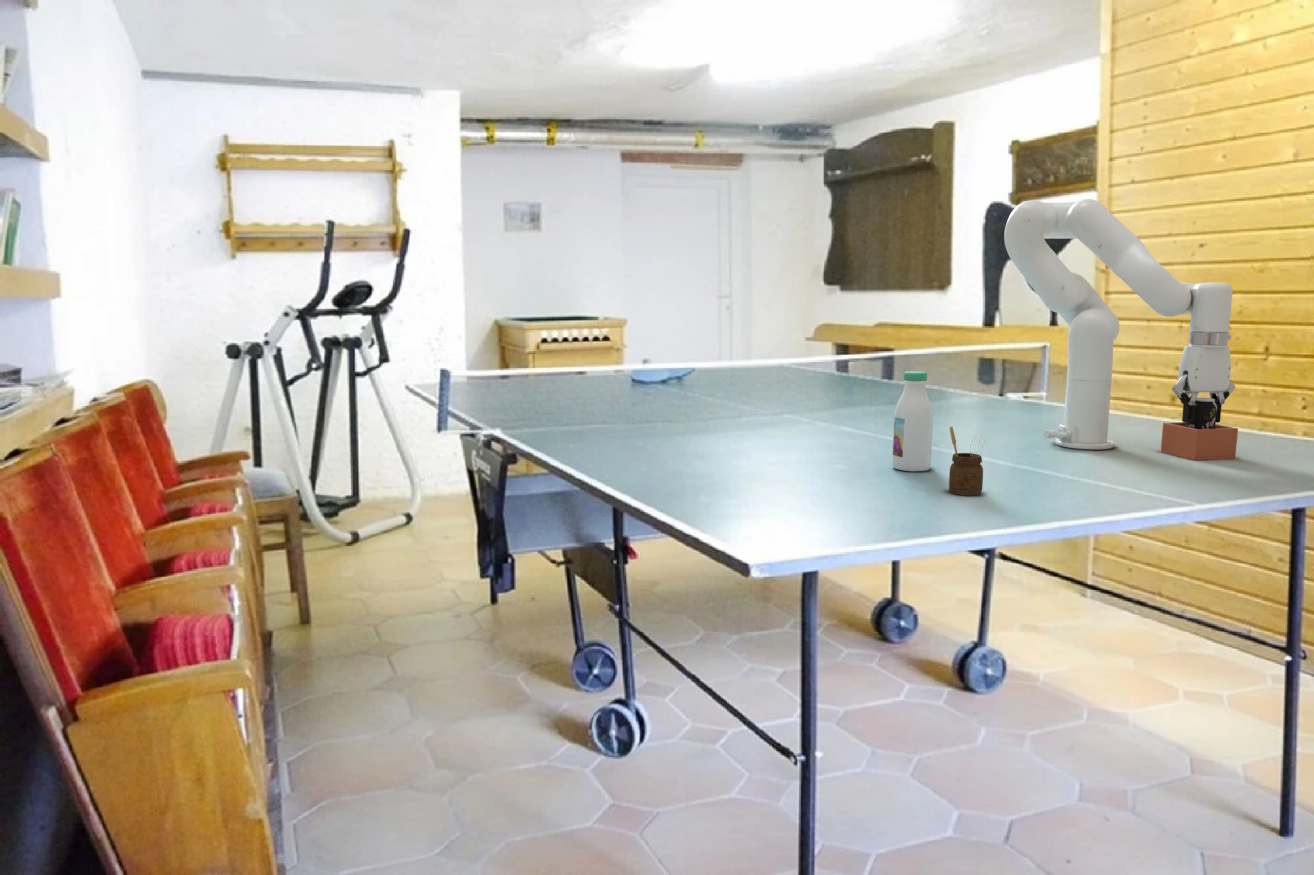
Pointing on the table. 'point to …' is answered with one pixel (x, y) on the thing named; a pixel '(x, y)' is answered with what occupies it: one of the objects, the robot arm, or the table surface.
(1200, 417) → the beverage can
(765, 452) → the table surface
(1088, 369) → the robot arm
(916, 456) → the milk bottle
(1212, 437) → the bin
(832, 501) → the table surface
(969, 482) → the utensil holder
